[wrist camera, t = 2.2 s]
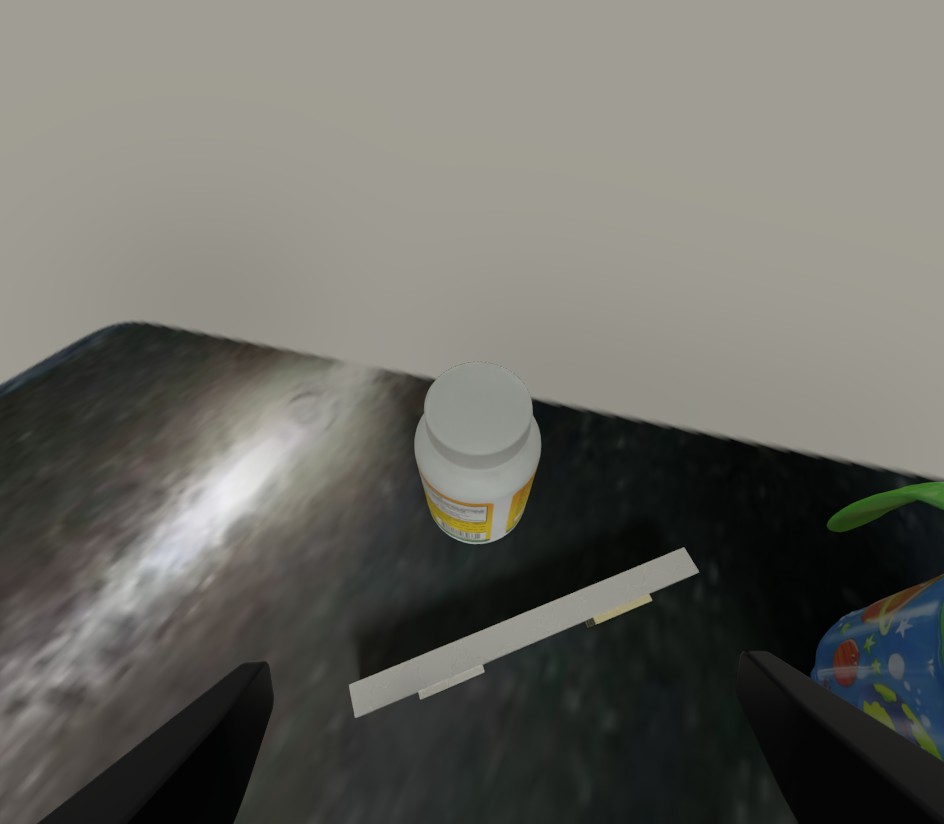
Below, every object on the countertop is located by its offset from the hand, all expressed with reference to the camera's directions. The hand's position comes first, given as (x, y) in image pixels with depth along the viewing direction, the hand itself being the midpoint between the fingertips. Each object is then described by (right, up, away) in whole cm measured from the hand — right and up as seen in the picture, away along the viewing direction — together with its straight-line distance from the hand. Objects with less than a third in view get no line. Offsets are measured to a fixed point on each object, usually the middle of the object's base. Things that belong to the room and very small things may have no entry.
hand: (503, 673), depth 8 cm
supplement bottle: (0, 0, +16) cm, 16 cm away
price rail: (+2, -5, +13) cm, 14 cm away
